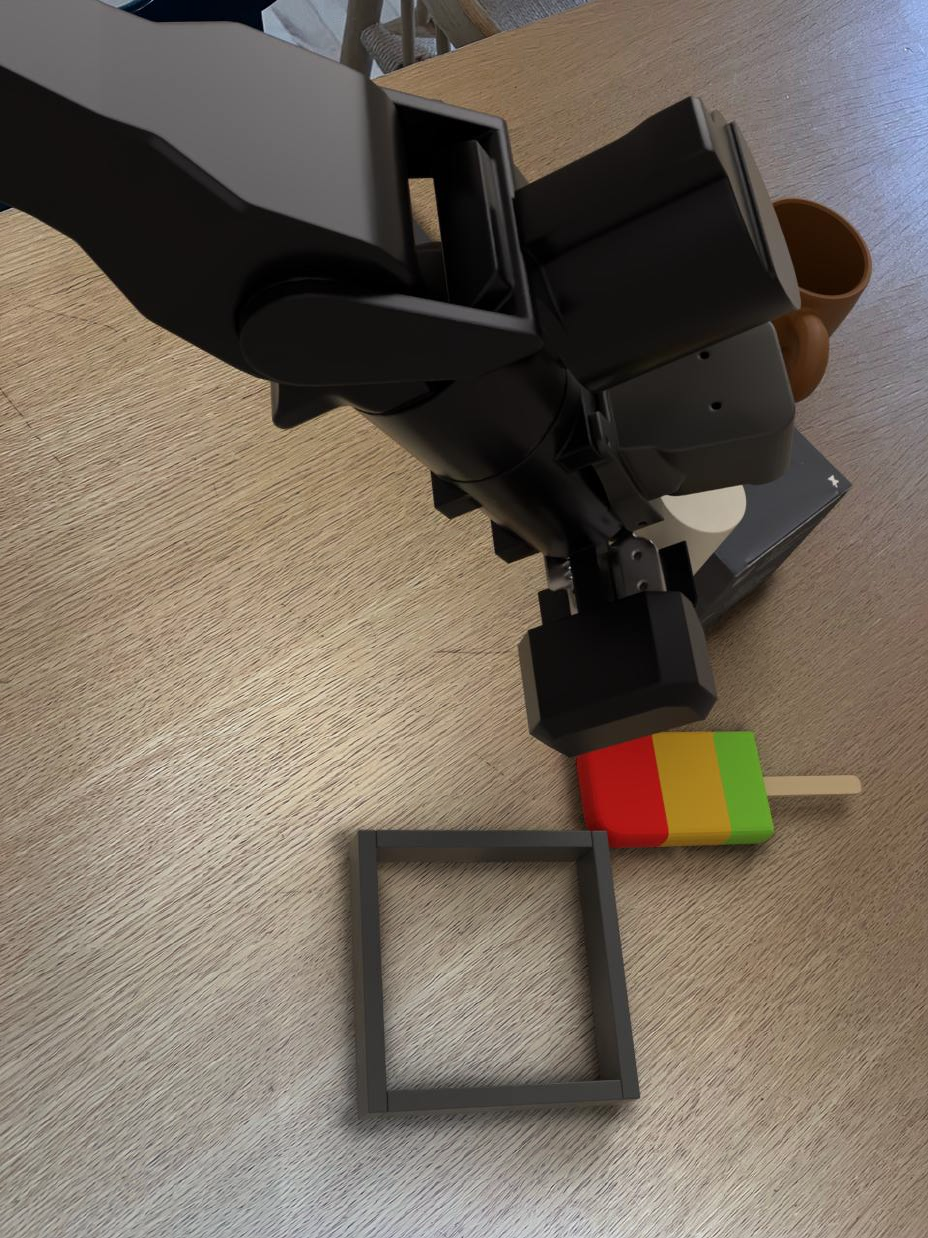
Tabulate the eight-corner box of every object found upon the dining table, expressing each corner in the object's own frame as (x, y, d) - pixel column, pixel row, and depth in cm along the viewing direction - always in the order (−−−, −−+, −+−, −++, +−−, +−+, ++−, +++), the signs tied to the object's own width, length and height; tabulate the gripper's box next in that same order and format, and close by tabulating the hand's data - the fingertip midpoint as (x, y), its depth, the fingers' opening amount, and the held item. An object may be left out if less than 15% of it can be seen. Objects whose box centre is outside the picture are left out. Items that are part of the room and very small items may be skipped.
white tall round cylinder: (633, 711, 57) (765, 575, 46) (558, 711, 56) (674, 572, 45) (609, 574, 60) (727, 416, 49) (538, 572, 59) (641, 410, 48)
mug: (806, 475, 74) (892, 378, 66) (685, 452, 72) (758, 350, 64) (790, 317, 79) (868, 210, 71) (677, 293, 78) (744, 180, 70)
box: (703, 504, 71) (781, 405, 63) (771, 577, 70) (859, 486, 62) (590, 585, 67) (658, 490, 58) (660, 664, 66) (740, 578, 57)
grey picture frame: (357, 1119, 52) (368, 1113, 50) (348, 845, 57) (357, 829, 55) (620, 1105, 55) (641, 1098, 53) (589, 845, 60) (607, 830, 58)
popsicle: (569, 743, 62) (582, 728, 61) (837, 740, 66) (856, 727, 65) (585, 852, 60) (599, 840, 58) (862, 843, 64) (883, 832, 62)
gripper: (794, 579, 33) (921, 732, 45) (669, 71, 41) (806, 320, 53) (432, 697, 37) (637, 805, 50) (383, 220, 46) (571, 416, 58)
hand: (668, 574), depth 53 cm, fingers closed on white tall round cylinder, 3 cm apart
